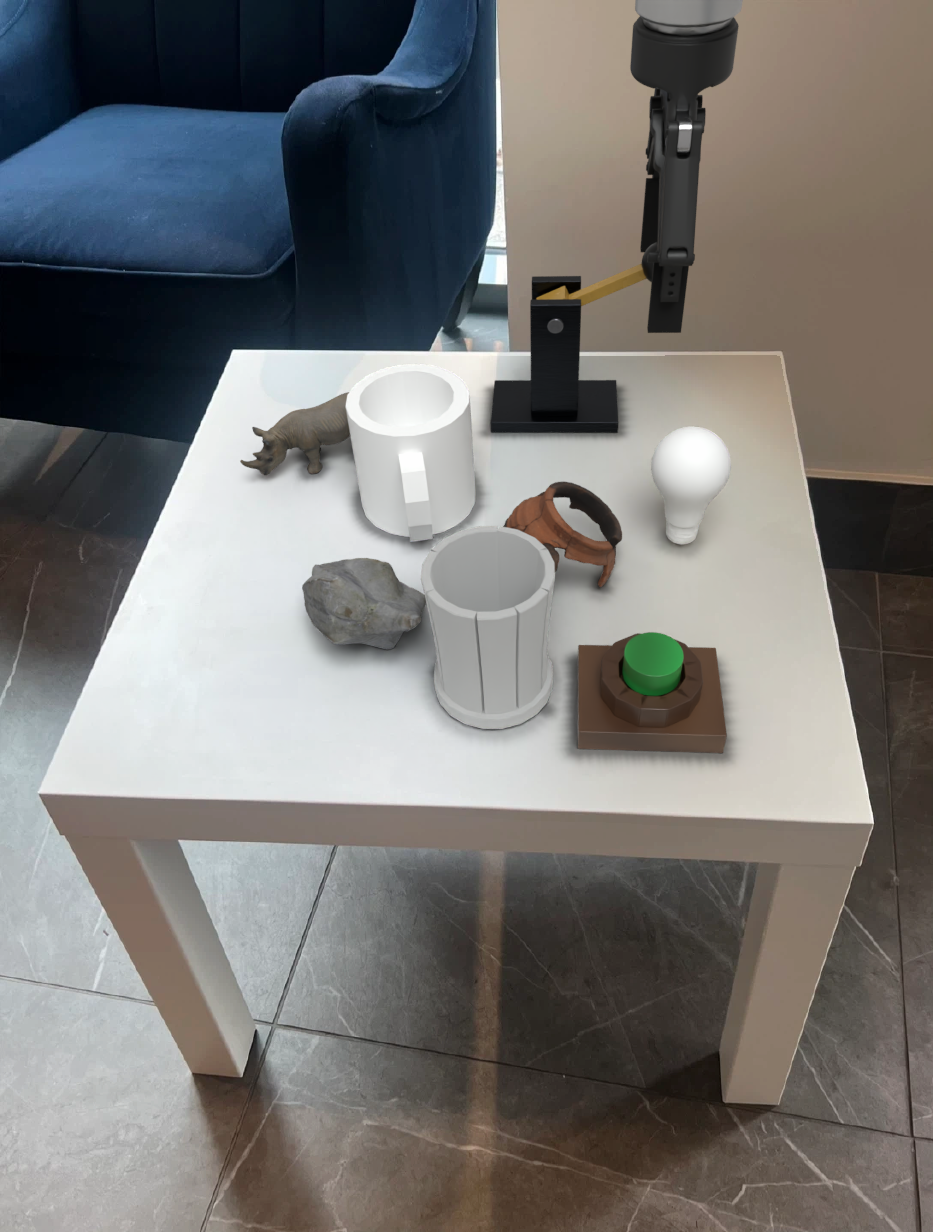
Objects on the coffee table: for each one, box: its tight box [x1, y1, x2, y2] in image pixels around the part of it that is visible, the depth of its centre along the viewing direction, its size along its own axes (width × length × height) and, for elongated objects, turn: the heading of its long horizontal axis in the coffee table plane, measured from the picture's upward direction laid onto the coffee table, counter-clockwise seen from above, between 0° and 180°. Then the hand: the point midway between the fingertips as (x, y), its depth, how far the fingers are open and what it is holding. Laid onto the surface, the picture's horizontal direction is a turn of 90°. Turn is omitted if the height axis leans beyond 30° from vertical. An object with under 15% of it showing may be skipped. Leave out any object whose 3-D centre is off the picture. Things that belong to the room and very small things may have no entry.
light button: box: [622, 631, 684, 696], centre depth 69 cm, size 4×4×2 cm
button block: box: [577, 632, 728, 754], centre depth 71 cm, size 10×8×4 cm
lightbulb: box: [650, 425, 732, 545], centre depth 80 cm, size 6×6×11 cm
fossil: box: [301, 557, 427, 650], centre depth 76 cm, size 11×9×8 cm
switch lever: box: [537, 242, 657, 307], centre depth 88 cm, size 13×4×4 cm, turn 86°
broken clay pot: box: [502, 481, 623, 588], centre depth 80 cm, size 12×10×8 cm
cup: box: [420, 525, 556, 730], centre depth 71 cm, size 10×9×12 cm
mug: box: [346, 363, 476, 543], centre depth 85 cm, size 14×10×11 cm
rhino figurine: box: [239, 391, 351, 477], centre depth 92 cm, size 4×14×6 cm, turn 118°
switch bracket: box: [490, 275, 619, 434], centre depth 93 cm, size 12×7×13 cm, turn 86°
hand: (659, 288), depth 88 cm, fingers open, 13 cm apart
